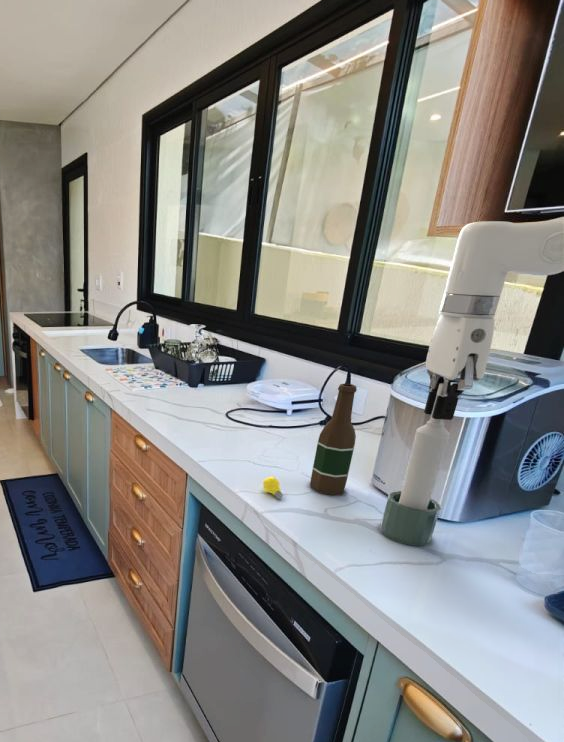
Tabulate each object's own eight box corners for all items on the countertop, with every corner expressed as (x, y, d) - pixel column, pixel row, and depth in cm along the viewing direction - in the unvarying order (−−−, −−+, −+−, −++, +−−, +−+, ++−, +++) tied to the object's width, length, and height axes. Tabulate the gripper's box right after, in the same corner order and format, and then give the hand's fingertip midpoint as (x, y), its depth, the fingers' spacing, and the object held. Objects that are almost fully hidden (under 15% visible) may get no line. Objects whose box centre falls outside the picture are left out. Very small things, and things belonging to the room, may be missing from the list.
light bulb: (268, 486, 114) (277, 474, 112) (282, 504, 110) (291, 492, 108) (257, 484, 113) (266, 472, 111) (270, 502, 108) (279, 490, 106)
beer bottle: (302, 486, 115) (320, 383, 106) (320, 478, 119) (340, 379, 111) (333, 499, 109) (356, 391, 100) (352, 490, 114) (375, 386, 105)
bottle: (398, 506, 98) (431, 379, 89) (428, 514, 95) (466, 384, 86) (391, 515, 94) (426, 384, 85) (423, 524, 91) (462, 390, 82)
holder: (417, 524, 100) (426, 492, 97) (438, 547, 92) (449, 513, 89) (373, 521, 100) (381, 489, 98) (391, 543, 93) (400, 510, 90)
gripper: (525, 312, 73) (487, 432, 80) (465, 303, 88) (437, 405, 94) (471, 310, 74) (438, 429, 80) (420, 301, 88) (395, 403, 95)
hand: (437, 415), depth 87 cm, fingers closed on bottle, 2 cm apart
